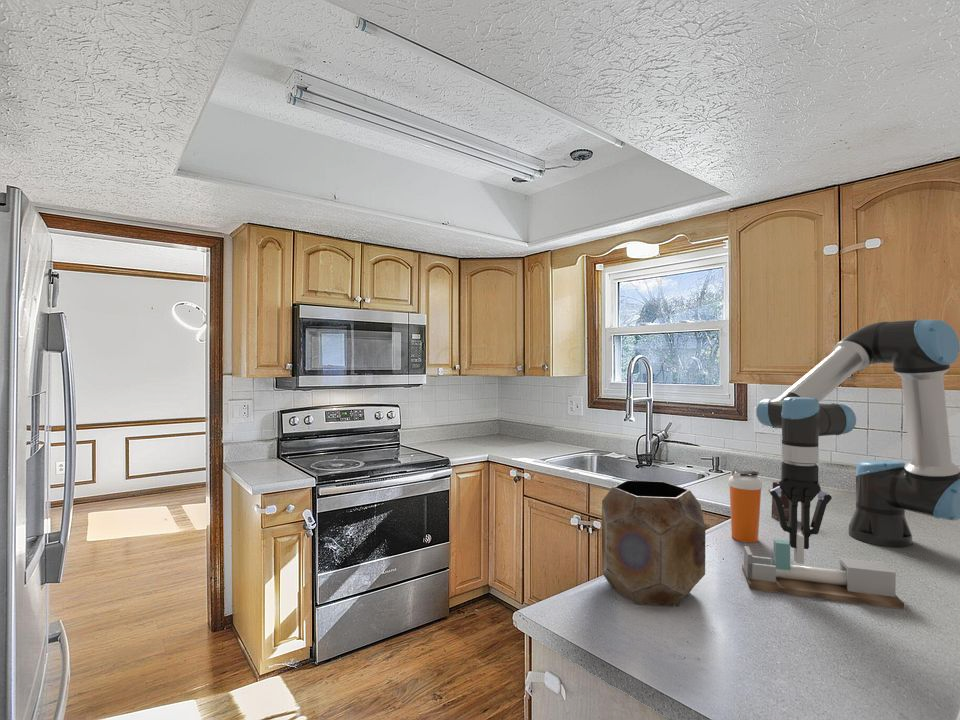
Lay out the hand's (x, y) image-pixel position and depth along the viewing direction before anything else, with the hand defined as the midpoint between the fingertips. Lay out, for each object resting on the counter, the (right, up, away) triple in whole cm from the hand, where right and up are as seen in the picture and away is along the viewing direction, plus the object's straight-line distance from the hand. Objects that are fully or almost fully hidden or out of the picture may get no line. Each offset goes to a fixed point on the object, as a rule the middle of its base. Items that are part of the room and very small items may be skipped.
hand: (798, 561), depth 125 cm
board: (+4, -6, -1) cm, 7 cm away
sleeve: (+13, -5, -4) cm, 14 cm away
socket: (-8, -5, +3) cm, 9 cm away
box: (+26, -5, +51) cm, 57 cm away
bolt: (+4, -4, -1) cm, 6 cm away
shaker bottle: (+3, -6, +32) cm, 32 cm away
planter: (-36, -6, -2) cm, 37 cm away
